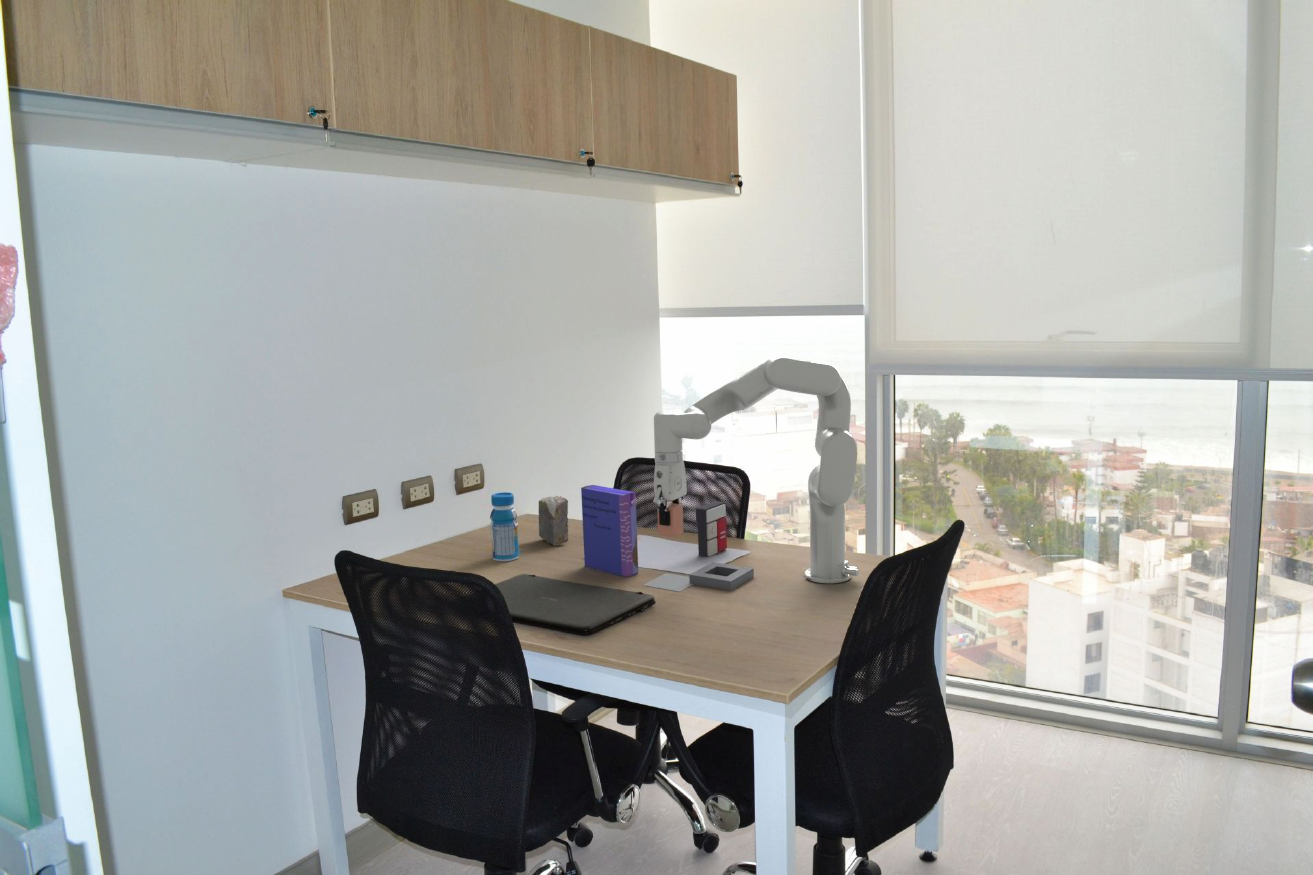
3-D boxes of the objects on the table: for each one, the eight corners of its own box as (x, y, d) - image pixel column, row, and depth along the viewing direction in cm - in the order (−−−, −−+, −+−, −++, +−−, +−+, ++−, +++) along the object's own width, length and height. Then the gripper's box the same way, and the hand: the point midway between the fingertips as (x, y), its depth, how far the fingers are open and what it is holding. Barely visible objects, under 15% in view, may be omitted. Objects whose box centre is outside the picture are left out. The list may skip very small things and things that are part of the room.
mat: (702, 581, 270) (702, 579, 270) (679, 593, 260) (679, 591, 260) (666, 575, 277) (666, 573, 277) (642, 587, 267) (642, 584, 267)
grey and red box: (708, 558, 291) (707, 509, 289) (696, 556, 294) (695, 508, 291) (728, 549, 300) (727, 502, 297) (716, 547, 302) (715, 500, 300)
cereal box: (638, 573, 279) (635, 491, 275) (626, 577, 276) (623, 494, 272) (596, 562, 291) (592, 484, 287) (584, 566, 288) (581, 487, 284)
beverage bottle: (501, 563, 293) (497, 499, 290) (486, 558, 299) (482, 494, 296) (525, 557, 298) (521, 494, 295) (510, 552, 305) (506, 490, 301)
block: (683, 533, 267) (682, 504, 266) (673, 537, 263) (672, 508, 261) (667, 530, 270) (667, 502, 268) (658, 535, 265) (657, 506, 264)
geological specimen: (538, 540, 318) (536, 495, 315) (555, 537, 321) (553, 492, 319) (553, 547, 309) (551, 501, 307) (570, 544, 312) (568, 498, 310)
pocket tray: (753, 578, 271) (753, 568, 271) (731, 592, 260) (731, 581, 260) (713, 572, 278) (712, 561, 278) (689, 584, 267) (689, 574, 267)
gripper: (663, 463, 254) (665, 531, 257) (696, 452, 268) (698, 517, 271) (639, 461, 258) (641, 528, 261) (673, 450, 272) (675, 514, 275)
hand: (670, 522), depth 266 cm, fingers closed on block, 5 cm apart
